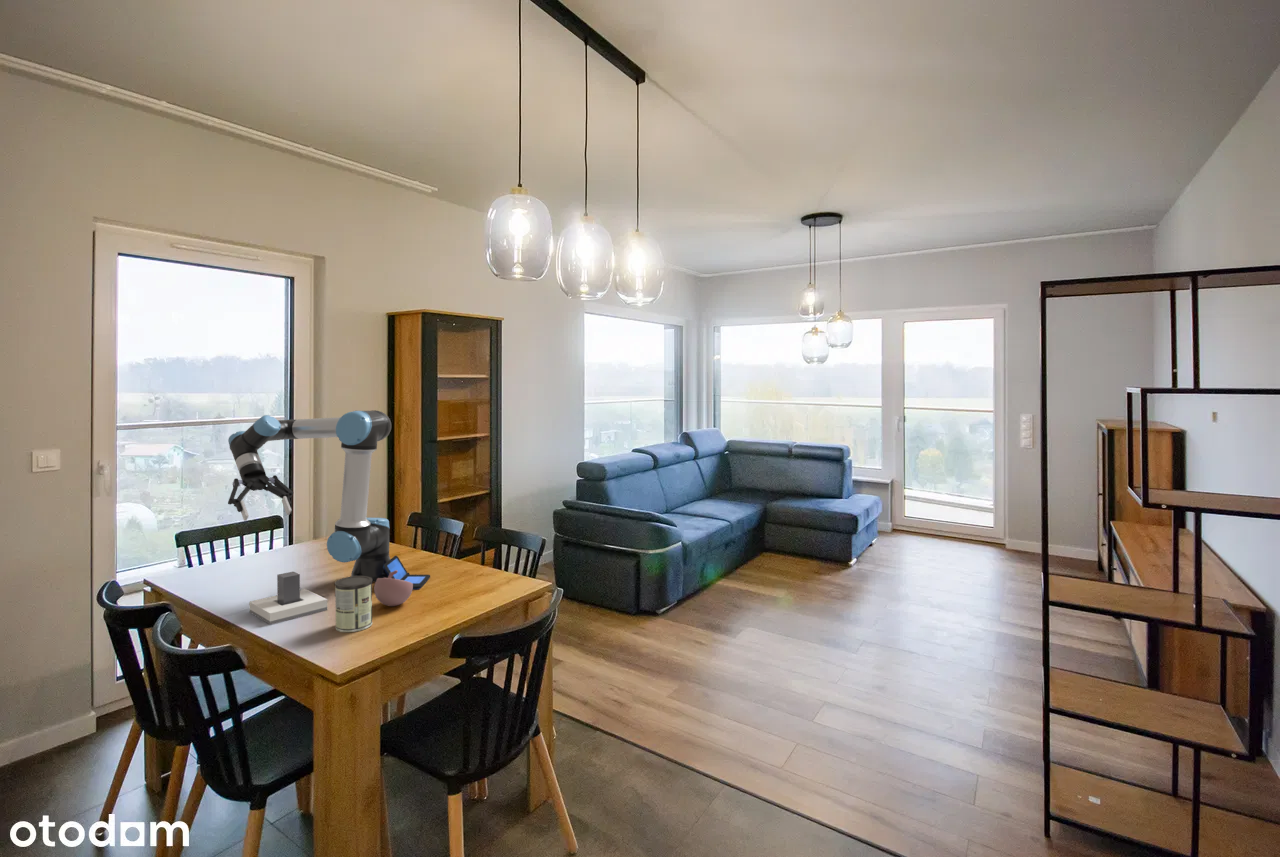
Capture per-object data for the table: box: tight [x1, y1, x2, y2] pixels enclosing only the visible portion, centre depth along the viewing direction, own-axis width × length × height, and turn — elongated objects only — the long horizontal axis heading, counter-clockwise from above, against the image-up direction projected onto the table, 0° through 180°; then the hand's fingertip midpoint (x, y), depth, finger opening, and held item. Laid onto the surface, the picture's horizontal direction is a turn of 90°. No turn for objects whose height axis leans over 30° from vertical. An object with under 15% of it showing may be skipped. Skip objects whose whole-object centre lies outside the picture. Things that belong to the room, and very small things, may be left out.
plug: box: [276, 571, 301, 605], centre depth 195 cm, size 5×5×11 cm
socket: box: [249, 588, 328, 626], centre depth 195 cm, size 17×16×4 cm
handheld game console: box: [383, 555, 431, 590], centre depth 226 cm, size 16×13×9 cm
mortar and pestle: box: [373, 570, 414, 607], centre depth 202 cm, size 12×12×11 cm
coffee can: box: [334, 576, 373, 633], centre depth 183 cm, size 10×10×14 cm
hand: (268, 515), depth 209 cm, fingers open, 13 cm apart
